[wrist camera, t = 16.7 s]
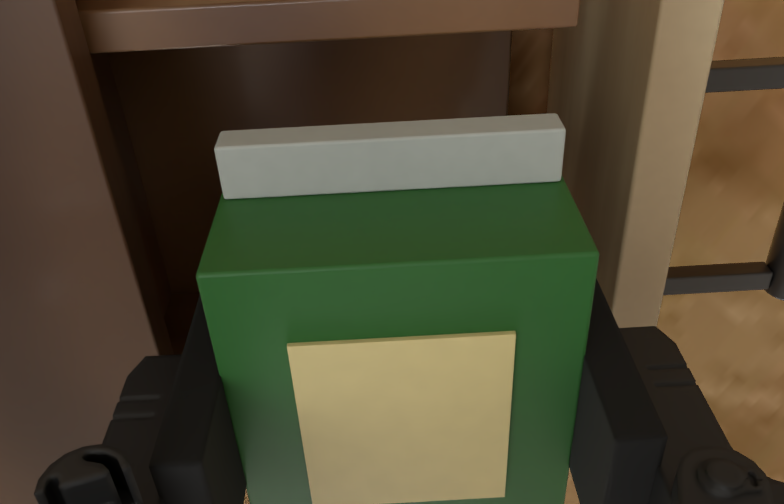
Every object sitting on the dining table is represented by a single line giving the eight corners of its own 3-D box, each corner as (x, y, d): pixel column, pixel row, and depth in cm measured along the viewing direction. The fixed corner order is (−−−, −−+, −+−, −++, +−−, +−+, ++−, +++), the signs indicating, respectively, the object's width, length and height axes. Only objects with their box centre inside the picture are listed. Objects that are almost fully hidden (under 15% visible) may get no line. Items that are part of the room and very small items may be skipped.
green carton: (514, 390, 19) (558, 568, 15) (287, 403, 19) (266, 584, 15) (538, 67, 14) (612, 196, 10) (232, 83, 14) (178, 220, 10)
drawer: (828, -139, 19) (1069, -86, 13) (720, 277, 27) (836, 445, 20) (54, -98, 19) (-105, -23, 13) (166, 309, 27) (103, 488, 20)
